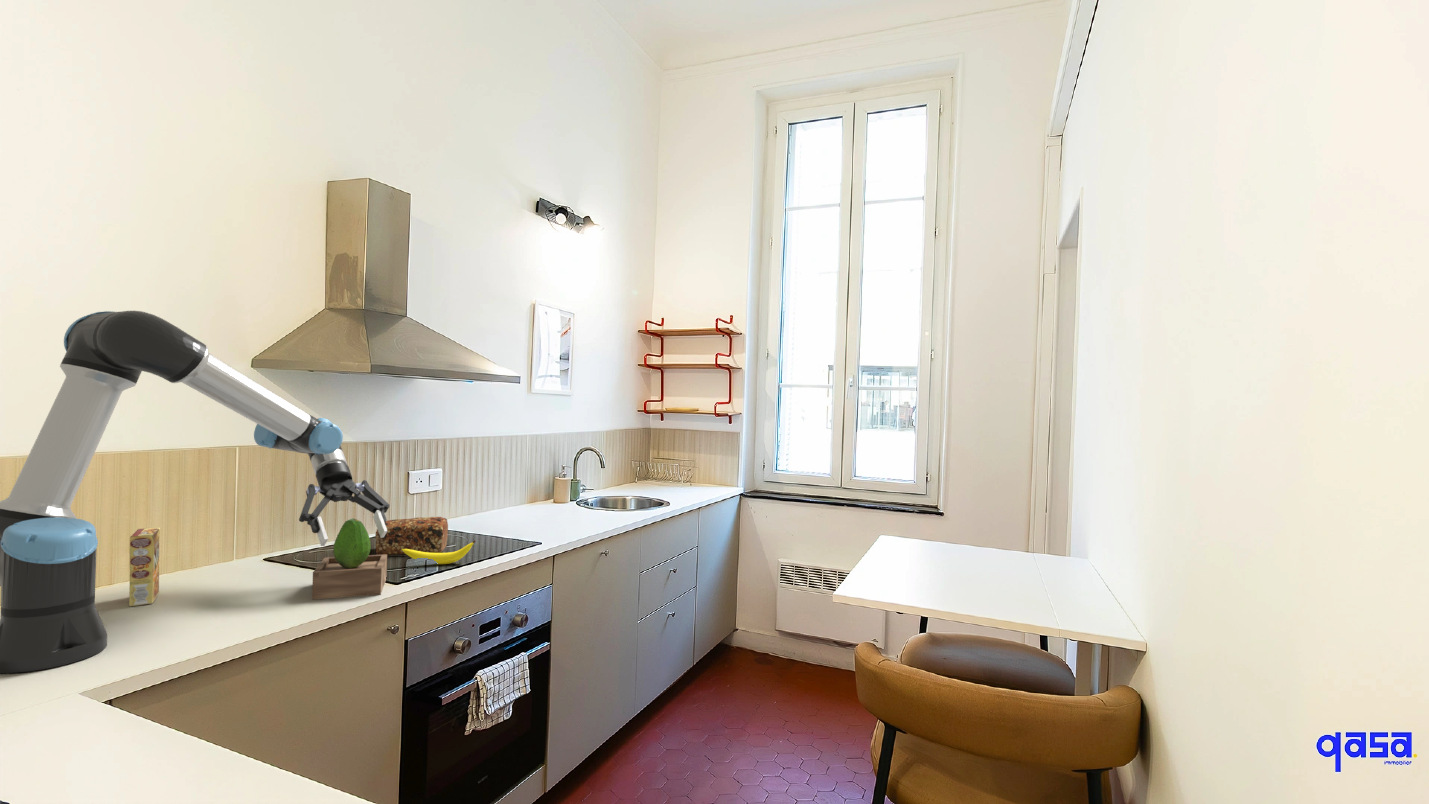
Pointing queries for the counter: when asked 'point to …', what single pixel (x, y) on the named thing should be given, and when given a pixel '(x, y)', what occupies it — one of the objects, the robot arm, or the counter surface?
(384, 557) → the walnut wooden box
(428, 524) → the bread
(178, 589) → the counter surface
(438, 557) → the banana
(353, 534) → the avocado
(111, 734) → the counter surface
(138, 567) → the candy box
